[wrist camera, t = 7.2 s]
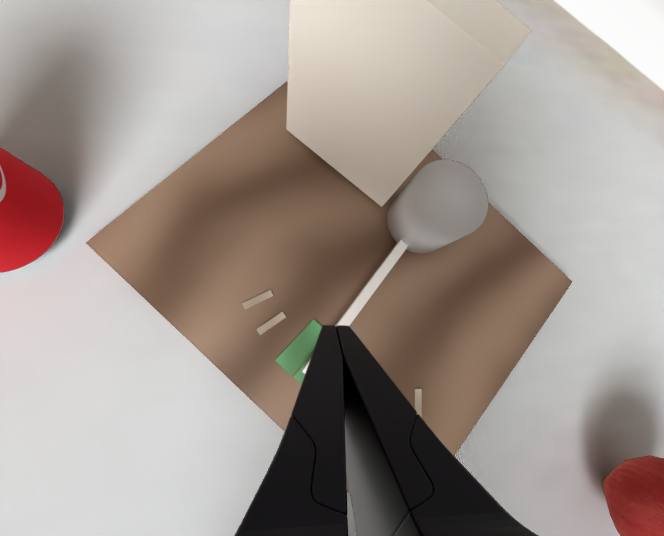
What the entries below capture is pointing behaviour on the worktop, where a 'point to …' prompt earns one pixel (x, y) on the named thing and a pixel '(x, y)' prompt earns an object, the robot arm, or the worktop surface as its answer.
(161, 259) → the dial board
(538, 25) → the worktop surface
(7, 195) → the beverage can
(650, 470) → the red oval piece
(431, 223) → the white panel with rod
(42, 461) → the worktop surface
